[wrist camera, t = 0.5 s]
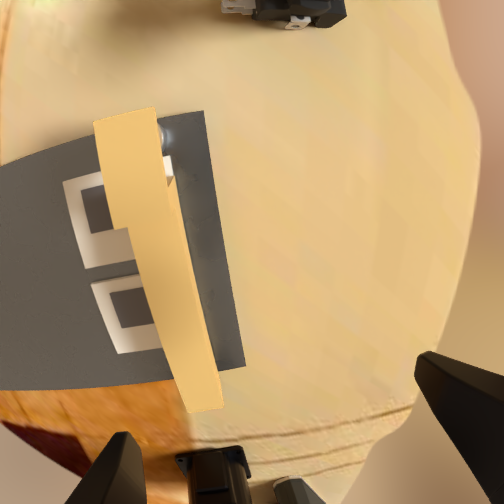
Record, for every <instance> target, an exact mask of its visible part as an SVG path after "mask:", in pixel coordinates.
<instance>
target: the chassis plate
mask: <svg viewBox="0 0 504 504" xmlns="http://www.w3.org/2000/svg"><path fill="white" fill-rule="evenodd" d="M157 123H158V124H160V125H161V126H162V127H163V128H164V129H165V131H166V134H167V145H166V147H165V149H164V151H163V152H162V156H163V157H164V156H169V155H170V158H171V164H172V170H173V175H175V181H176V186H177V192H178V197H179V203H180V208H181V213H182V218H183V224H184V229H185V234H186V238H187V243H188V248H189V253H190V258H191V262H192V267H193V272H194V276H195V281H196V285H197V289H198V294H199V298H200V302H201V307H202V311H203V315H204V319H205V323H206V327H207V331H208V335H209V339H210V343H211V347H212V351H213V355H214V359H215V363H216V366H217V370H218V371H224V370H229V369H234V368H239V367H244V366H246V363H245V357H244V352H243V347H242V342H241V336H240V331H239V325H238V320H237V315H236V309H235V304H234V298H233V292H232V287H231V281H230V275H229V270H228V264H227V258H226V252H225V246H224V240H223V234H222V228H221V222H220V216H219V210H218V204H217V197H216V191H215V185H214V178H213V172H212V165H211V159H210V152H209V145H208V139H207V132H206V125H205V118H204V111H197V112H191V113H185V114H180V115H174V116H169V117H164V118H159V119H157ZM99 171H101V168H100V162H99V157H98V151H97V145H96V139H95V134H94V135H90V136H87V137H83V138H80V139H77V140H73V141H70V142H67V143H64V144H61V145H58V146H55V147H52V148H49V149H46V150H43V151H40V152H37V153H35V154H32V155H29V156H27V157H24V158H21V159H19V160H16V161H14V162H11V163H9V164H6V165H4V166H1V167H0V390H64V389H82V388H96V387H108V386H119V385H129V384H138V383H146V382H154V381H162V380H169V379H174V376H173V374H172V371H171V368H170V366H169V363H168V360H167V357H166V355H165V352H164V349H163V348H157V349H150V350H143V351H136V352H128V353H121V354H118V353H117V351H116V349H115V346H114V344H113V342H112V339H111V337H110V335H109V332H108V330H107V327H106V325H105V322H104V320H103V317H102V314H101V312H100V309H99V306H98V304H97V301H96V298H95V296H94V293H93V290H92V287H91V284H92V282H98V281H103V280H108V279H114V278H119V277H124V276H130V275H135V274H140V273H139V270H138V266H137V263H136V259H133V260H128V261H123V262H117V263H112V264H107V265H102V266H97V267H92V268H87V269H85V266H84V263H83V260H82V256H81V253H80V250H79V246H78V243H77V239H76V236H75V232H74V228H73V225H72V221H71V217H70V213H69V209H68V205H67V201H66V196H65V192H64V187H63V181H67V180H70V179H73V178H77V177H81V176H84V175H88V174H92V173H95V172H99Z"/></svg>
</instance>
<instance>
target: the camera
mask: <svg viewBox="0 0 504 504" xmlns="http://www.w3.org/2000/svg"><path fill="white" fill-rule="evenodd" d="M273 488H274V491H275V494H276V497H277V500H278V503H279V504H326V502H325V501H324V500H323V499H322V498H321V497H320V496H319V495H318V494H317V493H316V492H315V491H314V490H313V489H312V488H311V487H310V486H309V485H308V484H307V483H306V481H305V480H304V479H303V478H302V477H301V476H300V475H295V476H287V477H284V478H281V479H279V480H276V482H275V483H274V484H273Z"/></svg>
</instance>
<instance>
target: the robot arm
mask: <svg viewBox="0 0 504 504" xmlns="http://www.w3.org/2000/svg"><path fill="white" fill-rule="evenodd" d="M414 377H415V380H416V382H417V384H418V386H419V388H420V389H421V391H422V393H423V395H424V397H425V399H426V401H427V402H428V404H429V406H430V408H431V410H432V412H433V414H434V415H435V417H436V418H437V420H438V421H439V423H440V424H441V425H442V427H443V428H444V430H445V432H446V433H447V434H448V436H449V437H450V439H451V440H452V442H453V443H454V445H455V447H456V448H457V449H458V451H459V453H460V454H461V456H462V457H463V458H464V460H465V462H466V463H467V465H468V466H469V468H470V469H471V471H472V473H473V474H474V476H475V478H476V479H477V481H478V482H479V484H480V486H481V487H482V489H483V490H484V492H485V494H486V495H487V497H488V498H489V501H490V502H491V504H504V376H502V375H499V374H496V373H493V372H490V371H487V370H484V369H481V368H478V367H475V366H472V365H469V364H466V363H463V362H460V361H457V360H454V359H451V358H449V357H446V356H443V355H440V354H437V353H435V352H432V351H426V352H424V353H422V354H420V355H419V356H418V357H417V361H416V366H415V372H414ZM175 461H176V463H177V464H178V466H179V468H180V469H181V471H182V472H183V474H184V475H185V477H186V478H187V485H188V497H189V504H252V500H251V495H250V491H249V487H248V482H247V479H249V478H251V472H250V469H249V466H248V463H247V460H246V456H245V453H244V450H243V447H241V446H236V447H230V448H224V449H218V450H212V451H205V452H197V453H189V454H181V455H176V456H175ZM64 504H147V496H146V486H145V479H144V470H143V461H142V453H141V449H140V447H139V445H138V444H137V442H136V441H135V439H134V438H133V436H132V435H131V434H130V433H129V432H128V431H124V432H116V433H115V434H114V435H113V436H112V438H111V439H110V441H109V442H108V443H107V445H106V446H105V448H104V449H103V450H102V452H101V453H100V455H99V456H98V457H97V459H96V460H95V462H94V463H93V464H92V466H91V467H90V468H89V470H88V471H87V473H86V474H85V475H84V477H83V478H82V480H81V481H80V483H79V484H78V485H77V487H76V488H75V489H74V491H73V492H72V494H71V495H70V496H69V498H68V499H67V501H66V502H65V503H64Z"/></svg>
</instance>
